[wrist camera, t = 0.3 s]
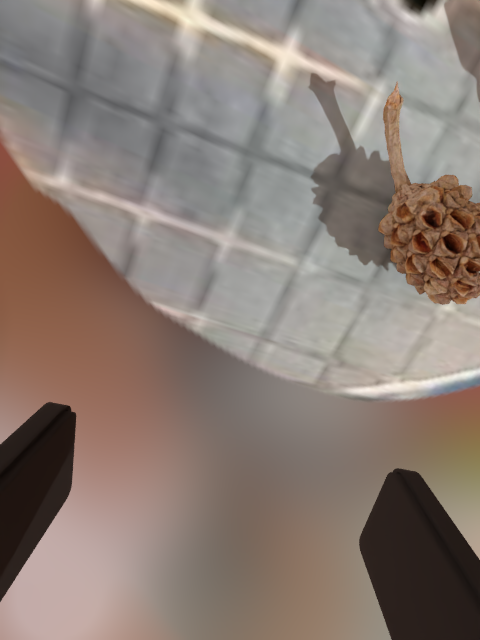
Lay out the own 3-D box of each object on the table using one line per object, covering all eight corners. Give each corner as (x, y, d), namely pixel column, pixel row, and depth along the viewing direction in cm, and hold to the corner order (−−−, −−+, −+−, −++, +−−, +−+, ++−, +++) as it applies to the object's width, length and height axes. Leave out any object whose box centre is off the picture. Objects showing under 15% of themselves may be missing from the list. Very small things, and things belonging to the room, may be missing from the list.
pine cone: (475, 265, 38) (553, 279, 28) (401, 307, 39) (452, 334, 30) (397, 86, 32) (460, 29, 23) (315, 143, 34) (343, 113, 24)
